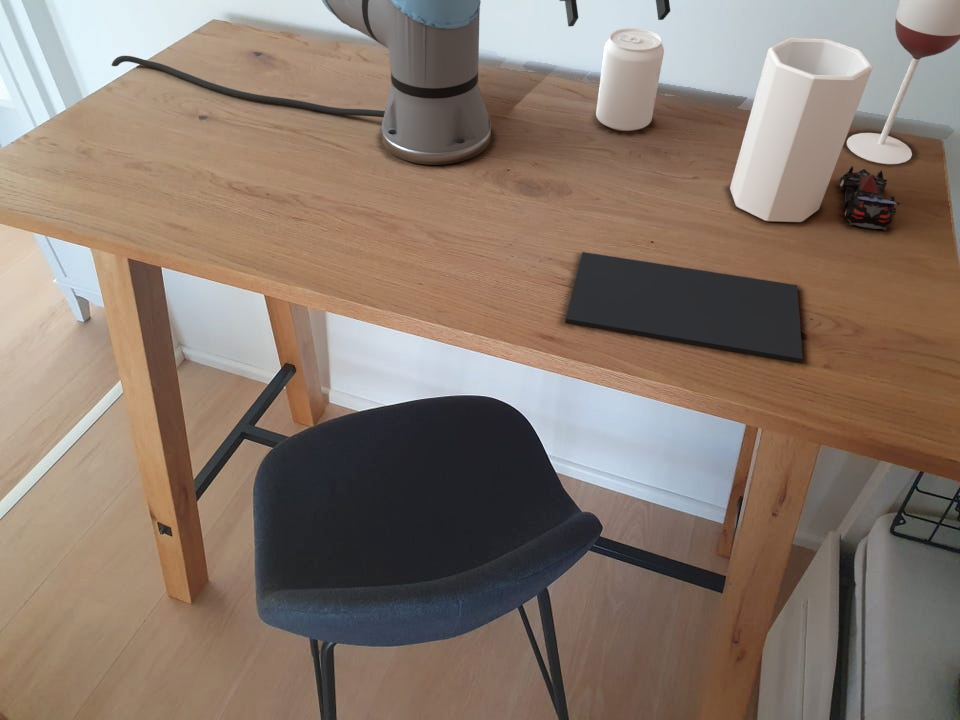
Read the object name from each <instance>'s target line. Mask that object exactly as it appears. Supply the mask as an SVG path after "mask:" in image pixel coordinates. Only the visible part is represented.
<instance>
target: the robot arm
mask: <svg viewBox="0 0 960 720" xmlns="http://www.w3.org/2000/svg"><path fill="white" fill-rule="evenodd" d="M321 2H322V3H323V5H324V6H325V7H326V9H327V10H328V11H329V12H330V13H331V14H332V15H334V16H335V17H336V19H338V20H339V21H340V22H341V23H342V24H344V25H346V26H348V27H349V28H351V29H353V30H356V31H357V32H360V33H361V34H363V35H365V36H367V37H369V38H370V39H372V40H374V42H377V43H378V44H380V45H382V46H383V47H385V48H386V49H388V56H389V57H388V58H389V68H390V69H389V70H390V82H391V83H390V85H391V86H390V90H389V94H388V99H387V102H386V106H385V110H380V109H379V110H377V109H365V108H343V107H342V108H340V107H333V106H327V105H322V104H318V103H312V102H307V101H304V100H303V101H302V100H296V99H293V98H292V99H290V98H283V97H277V96H268V95H262V94H255V93H251V92H246V91H241V90H238V89H234V88H229V87H226V86H223V85H219V84H216V83H213V82H210V81H208V80H205V79H201V78H199V77H197V76H194V75H192V74H188V73H187V72H183V71H181V70H178V69H176V68H174V67H171V66H168V65H166V64H163V63H160V62H155V61H152V60H147V59H143V58H140V57H136V56H131V55H119V56H117V57H116V58H114V59H113V61H112V63H111V66H112V67H118V66H119V65H121V64H122V63H126V62H127V63H132V64H133V63H134V64H137V65H140V66H144V67H148V68H152V69H157V70H159V71H163V72H165V73H168V74H170V75H172V76H175V77H177V78H180V79H183V80H186V81H188V82H190V83H193V84H196V85H198V86H200V87H203V88H206V89H209V90H212V91H215V92H219V93H222V94H225V95H228V96H233V97H236V98H241V99H245V100H250V101H256V102H262V103H269V104H274V105H275V104H276V105H283V106H289V107H297V108H301V109H307V110H311V111H316V112H320V113H325V114H326V113H327V114H332V115H339V116H341V115H342V116H357V117H359V116H361V117H373V118H374V117H375V118H382V122H381V139H382V143H383V146H384V147H385V149H386V150H387V151H388V152H389V153H391V154H392V155H393V156H395V157H397V158H399V159H401V160H404V161H407V162H410V163H413V164H420V165H428V166H429V165H430V166H439V165H440V166H441V165H451V164H456V163H461V162H464V161H467V160H470V159H472V158H474V157H477V156H478V155H480V154H481V153H483V152H484V151H485V150H486V149H487V148H488V146H489V145H490V142H491V140H492V139H491V137H492V135H491V133H492V131H491V130H492V125H493V124H492V123H491V122H492V121H491V118H490V116H489V112H488V110H487V107H486V104H485V101H484V98H483V95H482V92H481V88H480V86H479V58H480V57H479V56H480V55H479V54H480V16H481V15H480V11H481V4H482V3H481V2H482V1H481V0H321ZM559 2H564V5H565V6H564V7H565V12H566V13H565V14H566V19H567V27H569V28H570V27H574V26H575V24H576V23H577V21H578V20H579V12H578V3H577V0H559ZM655 5H656V13H657V20H658V21H663V20H664V19H666V18H667V16H668V15H669V14H670V12H671V4H670V0H655Z"/></svg>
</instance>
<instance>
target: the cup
mask: <svg viewBox="0 0 960 720" xmlns="http://www.w3.org/2000/svg"><path fill="white" fill-rule="evenodd" d="M764 59H765V60H764V63H763V66H762V70H761V74H760V78H759V82H758V85H757V88H756V93H755V95H754V96H755V97H754V99H753V103H752V105H751V111H750V113H749V117H748V122H747V125H746V129H745V132H744V135H743V139H742V142H741V148H740V150H739V154H738V157H737V160H736V165H735V168H734V172H733V175H732V179H731V183H730V186H729V190H730V193H731V196H732V199H733V201H734V205H735V206H736V207H737V208H739V209H740V210H741V211H742V210H743V211H744V212H747V213H749V214H750V215H752V216H755V217H757V218H759V219H761V220H763V221H765V222H781V223H782V222H783V223H784V222H785V223H802V222H804V221H805V220H807V219H808V218H810V216H812V215H813V214H814V213H816V212H817V211H819V210H820V208H821V205H822V202H823V200H824V197H825V194H826V193H827V189H828V186H829V184H830V181H831V179H832V176H833V173H834V171H835V168H836V166H837V163H838V160H839V158H840V155H841V152H842V150H843V147H844V144H845V142H846V140H847V137H848V134H849V131H850V129H851V126H852V124H853V121H854V118H855V115H856V113H857V111H858V107H859V105H860V102H861V100H862V97H863V94H864V91H865V89H866V86H867V84H868V81H869V78H870V75H871V73H872V70H873V66H872V65H871V63H870V62H869V61H868V60H867V58H866V56H865V55H864V54H863V53H862V51H861V50H860V49H859V48H854V47H851V46H848V45H846V44H843V43H839V42H837V41H835V40H831V39H827V38H809V37H808V38H807V37H790V38H787V39H785V40H783V41H782V42H779V43H777V44H775V45H773V46H771V47H769V48H768V49H767V53H766V56H765V58H764Z"/></svg>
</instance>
